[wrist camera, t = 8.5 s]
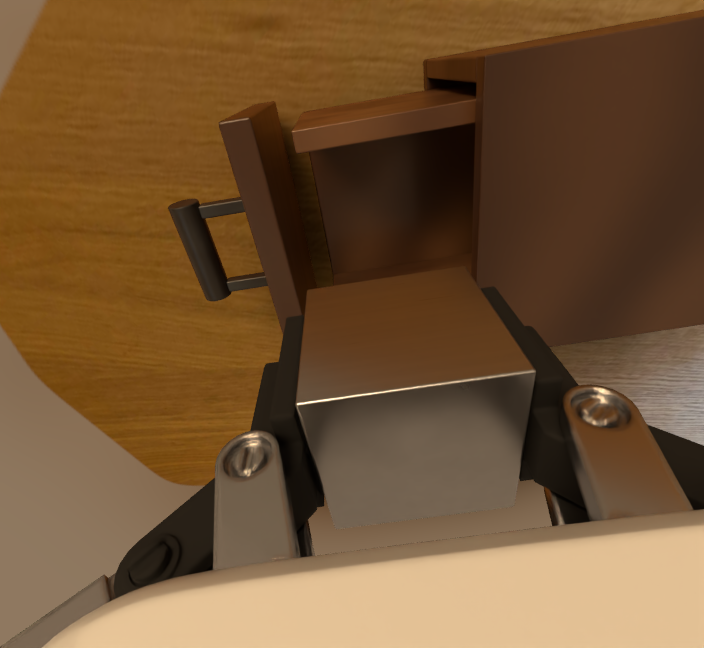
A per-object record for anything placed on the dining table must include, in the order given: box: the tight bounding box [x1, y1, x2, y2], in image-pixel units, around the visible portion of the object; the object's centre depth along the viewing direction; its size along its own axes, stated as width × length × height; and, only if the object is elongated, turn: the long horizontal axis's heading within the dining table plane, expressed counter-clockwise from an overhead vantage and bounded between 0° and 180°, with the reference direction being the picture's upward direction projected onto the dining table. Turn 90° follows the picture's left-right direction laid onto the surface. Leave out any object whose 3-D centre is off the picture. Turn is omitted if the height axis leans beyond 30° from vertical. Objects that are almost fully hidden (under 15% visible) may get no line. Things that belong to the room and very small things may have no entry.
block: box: [295, 266, 536, 529], centre depth 10 cm, size 4×4×4 cm
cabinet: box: [423, 10, 704, 347], centre depth 19 cm, size 15×13×10 cm
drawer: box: [168, 82, 477, 335], centre depth 20 cm, size 18×11×8 cm, turn 99°
